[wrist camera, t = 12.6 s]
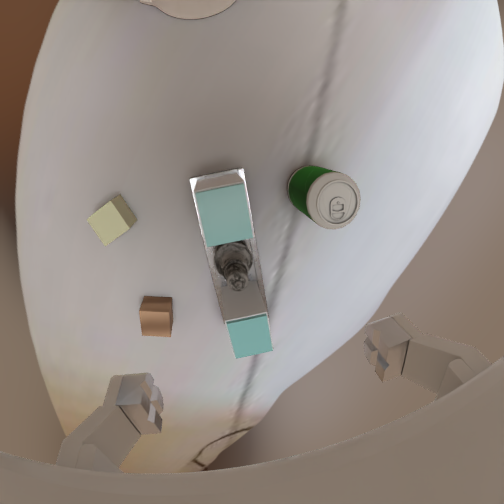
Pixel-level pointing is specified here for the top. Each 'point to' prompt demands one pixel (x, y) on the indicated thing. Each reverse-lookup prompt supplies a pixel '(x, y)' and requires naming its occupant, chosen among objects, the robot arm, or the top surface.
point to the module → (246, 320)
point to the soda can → (324, 196)
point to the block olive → (112, 220)
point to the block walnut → (156, 316)
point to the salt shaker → (233, 264)
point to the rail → (250, 243)
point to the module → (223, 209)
